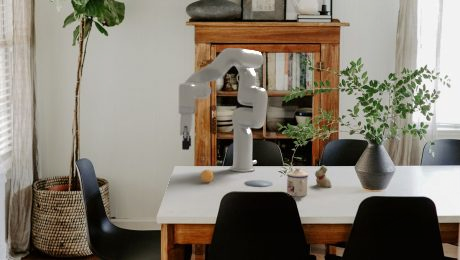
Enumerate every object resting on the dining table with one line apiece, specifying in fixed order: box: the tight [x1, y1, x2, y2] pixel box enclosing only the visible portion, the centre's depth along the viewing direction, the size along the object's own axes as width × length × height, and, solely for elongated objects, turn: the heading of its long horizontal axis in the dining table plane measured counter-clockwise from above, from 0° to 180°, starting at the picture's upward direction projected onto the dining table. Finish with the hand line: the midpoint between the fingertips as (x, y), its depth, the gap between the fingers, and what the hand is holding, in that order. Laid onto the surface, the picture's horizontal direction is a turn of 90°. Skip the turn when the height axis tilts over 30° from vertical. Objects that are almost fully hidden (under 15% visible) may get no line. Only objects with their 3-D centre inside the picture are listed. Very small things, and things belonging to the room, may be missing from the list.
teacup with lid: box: [286, 167, 309, 197], centre depth 298 cm, size 12×9×12 cm
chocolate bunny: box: [314, 164, 332, 188], centre depth 316 cm, size 6×8×10 cm
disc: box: [244, 179, 274, 188], centre depth 320 cm, size 13×13×1 cm
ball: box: [200, 169, 214, 184], centre depth 320 cm, size 6×6×6 cm
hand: (186, 147), depth 318 cm, fingers open, 8 cm apart
